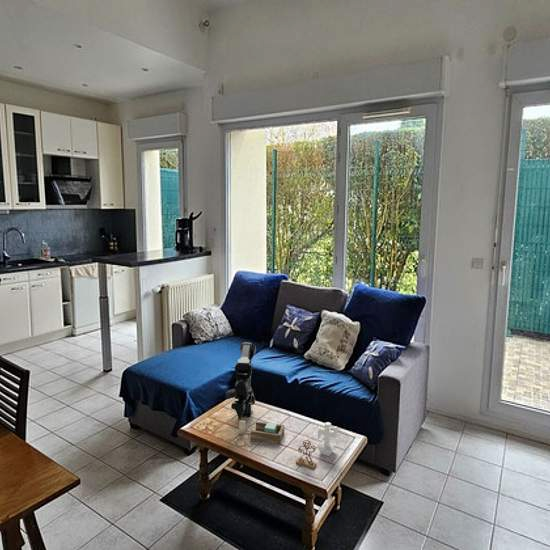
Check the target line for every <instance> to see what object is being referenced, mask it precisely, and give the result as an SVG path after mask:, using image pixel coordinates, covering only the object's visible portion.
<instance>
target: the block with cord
mask: <svg viewBox="0 0 550 550" xmlns="http://www.w3.org/2000/svg"><path fill="white" fill-rule="evenodd" d="M266 423H267V424H266V426H265V432H267V433H274V434H276V432H277V424H278V423H271V422H266ZM238 434H240V435H244V434H247V435H248V434H249V435H251V431H246V420H244V419H240V420H239V422H238Z"/></svg>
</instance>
